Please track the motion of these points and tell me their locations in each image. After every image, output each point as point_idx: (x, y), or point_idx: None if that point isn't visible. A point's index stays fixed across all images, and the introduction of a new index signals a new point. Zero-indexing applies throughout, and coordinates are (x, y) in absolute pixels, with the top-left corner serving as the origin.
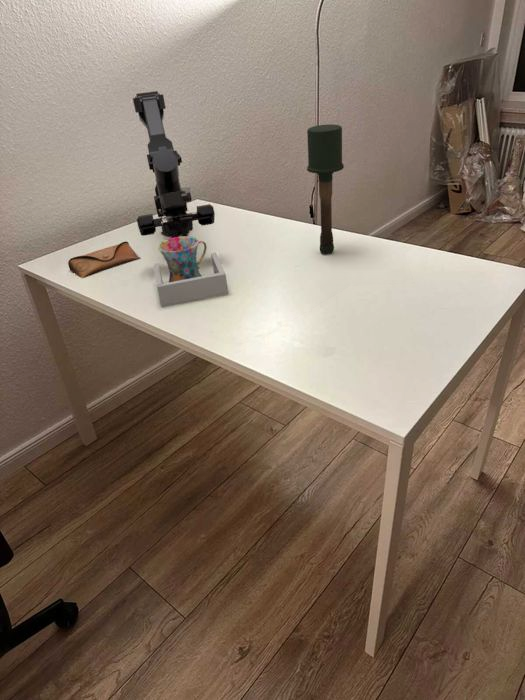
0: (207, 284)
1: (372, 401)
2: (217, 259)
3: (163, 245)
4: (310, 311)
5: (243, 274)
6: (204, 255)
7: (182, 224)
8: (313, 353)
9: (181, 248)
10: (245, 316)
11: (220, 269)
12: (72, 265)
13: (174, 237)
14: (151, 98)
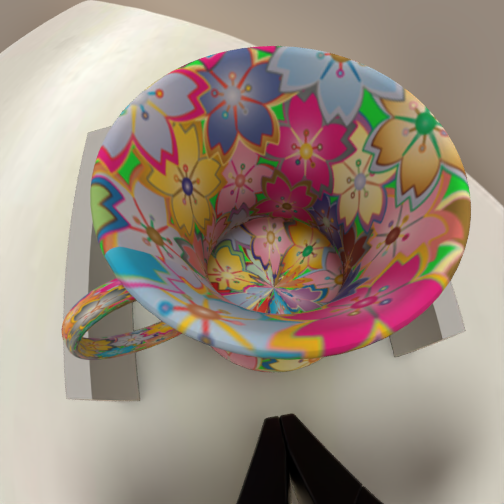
0: None
1: (81, 10)
2: (71, 286)
3: (441, 216)
4: (17, 110)
5: (37, 323)
6: (125, 336)
7: None
8: (79, 37)
9: (283, 314)
10: (117, 90)
11: (90, 169)
12: None
13: (372, 497)
14: None
